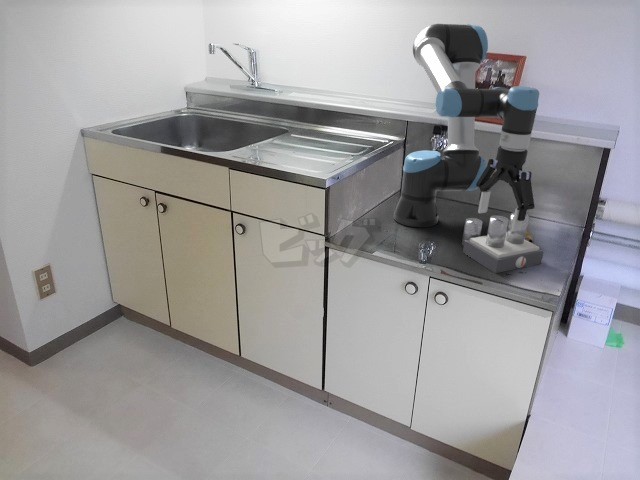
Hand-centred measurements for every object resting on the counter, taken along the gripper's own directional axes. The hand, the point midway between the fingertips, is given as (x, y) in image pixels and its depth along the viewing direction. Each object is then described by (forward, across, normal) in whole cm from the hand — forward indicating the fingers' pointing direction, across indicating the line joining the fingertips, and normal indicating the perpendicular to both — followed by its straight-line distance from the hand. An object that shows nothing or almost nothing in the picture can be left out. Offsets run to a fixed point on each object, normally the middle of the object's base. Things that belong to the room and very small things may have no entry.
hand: (498, 221), depth 146 cm
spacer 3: (+7, +1, +7) cm, 10 cm away
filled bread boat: (+13, -8, +19) cm, 24 cm away
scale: (+12, +1, +3) cm, 12 cm away
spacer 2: (+7, +1, 0) cm, 7 cm away
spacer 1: (+12, -10, +1) cm, 16 cm away
